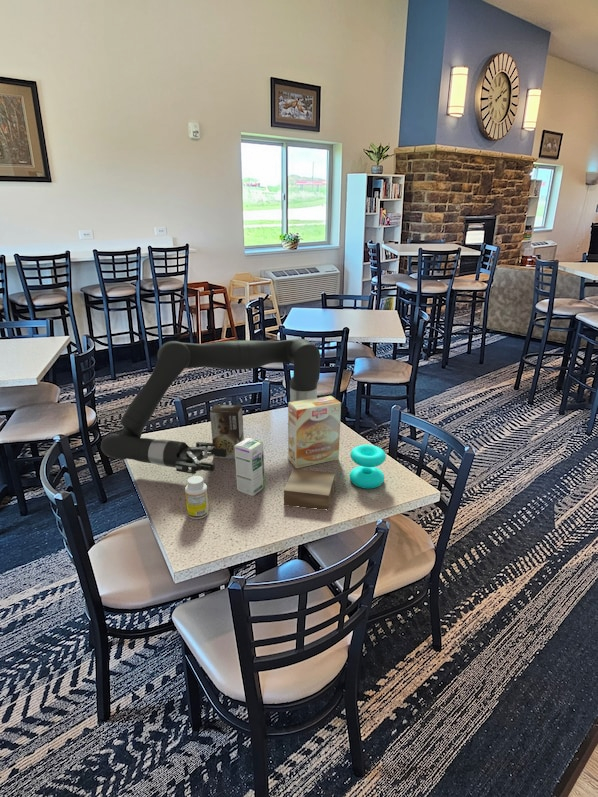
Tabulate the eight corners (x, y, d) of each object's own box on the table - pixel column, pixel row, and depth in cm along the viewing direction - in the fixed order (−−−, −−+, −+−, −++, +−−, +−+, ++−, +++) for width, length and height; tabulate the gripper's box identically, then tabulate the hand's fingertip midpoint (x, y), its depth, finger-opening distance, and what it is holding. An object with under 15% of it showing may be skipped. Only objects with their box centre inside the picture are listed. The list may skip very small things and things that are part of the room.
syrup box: (253, 496, 136) (251, 449, 131) (236, 490, 139) (234, 444, 134) (265, 487, 141) (264, 441, 135) (248, 481, 144) (247, 436, 138)
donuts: (344, 452, 139) (360, 439, 147) (343, 483, 143) (359, 469, 151) (376, 462, 134) (392, 448, 142) (374, 494, 138) (389, 479, 145)
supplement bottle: (194, 506, 132) (192, 472, 128) (213, 510, 130) (210, 476, 126) (182, 517, 127) (179, 482, 123) (201, 522, 125) (198, 487, 121)
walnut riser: (293, 483, 143) (293, 468, 142) (334, 488, 141) (335, 472, 139) (283, 506, 132) (283, 490, 131) (328, 511, 130) (328, 495, 128)
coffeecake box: (296, 469, 151) (296, 409, 144) (287, 458, 157) (287, 401, 150) (339, 459, 156) (341, 402, 149) (329, 450, 162) (331, 394, 155)
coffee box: (244, 450, 162) (243, 404, 156) (240, 459, 156) (238, 412, 150) (217, 449, 163) (214, 403, 157) (212, 458, 157) (209, 411, 151)
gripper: (154, 452, 135) (208, 460, 131) (179, 431, 148) (229, 437, 144) (157, 476, 138) (210, 484, 134) (181, 453, 151) (230, 460, 147)
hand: (220, 460), depth 139 cm, fingers open, 8 cm apart
